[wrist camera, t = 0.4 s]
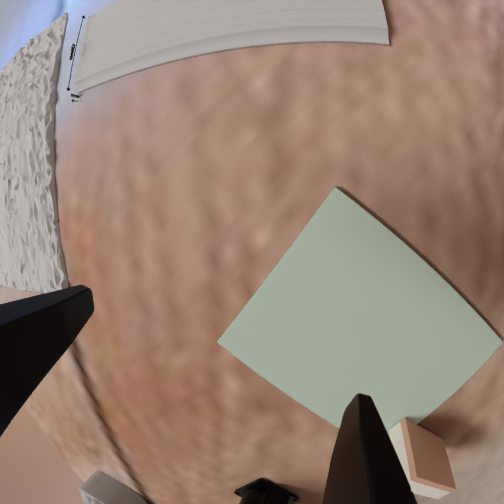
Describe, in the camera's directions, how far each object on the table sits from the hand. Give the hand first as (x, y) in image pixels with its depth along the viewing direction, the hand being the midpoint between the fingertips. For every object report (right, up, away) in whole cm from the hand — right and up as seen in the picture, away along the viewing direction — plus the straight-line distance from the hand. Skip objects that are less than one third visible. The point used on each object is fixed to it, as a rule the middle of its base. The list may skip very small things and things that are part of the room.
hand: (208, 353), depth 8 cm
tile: (+17, -15, +13) cm, 26 cm away
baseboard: (-3, +24, +12) cm, 27 cm away
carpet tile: (-36, +17, +24) cm, 47 cm away
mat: (+11, -5, +13) cm, 18 cm away
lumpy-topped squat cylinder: (-26, -48, +34) cm, 64 cm away
